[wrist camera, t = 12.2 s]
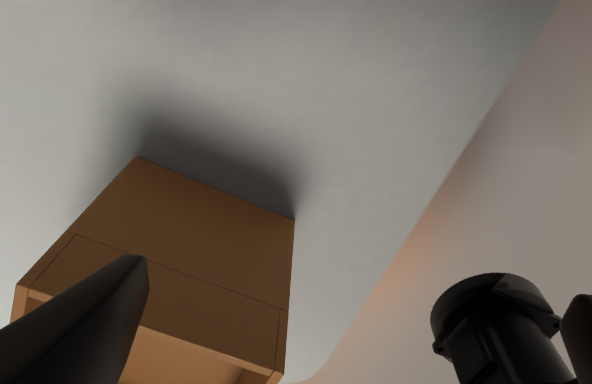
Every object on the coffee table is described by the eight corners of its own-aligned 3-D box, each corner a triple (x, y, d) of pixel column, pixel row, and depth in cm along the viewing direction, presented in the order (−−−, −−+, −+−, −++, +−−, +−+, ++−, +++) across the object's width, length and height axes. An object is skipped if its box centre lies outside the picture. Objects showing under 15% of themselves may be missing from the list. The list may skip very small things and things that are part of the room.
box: (295, 220, 23) (284, 374, 15) (237, 325, 28) (201, 493, 19) (135, 155, 22) (15, 284, 13) (99, 277, 26) (-10, 436, 17)
